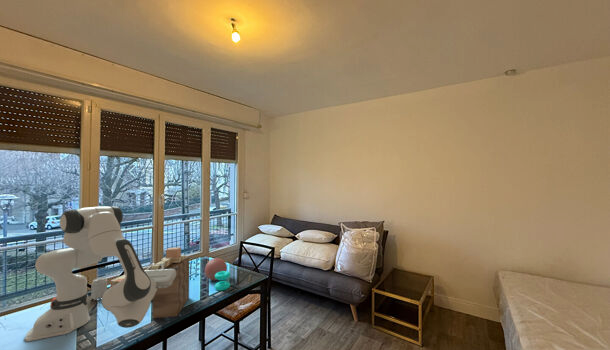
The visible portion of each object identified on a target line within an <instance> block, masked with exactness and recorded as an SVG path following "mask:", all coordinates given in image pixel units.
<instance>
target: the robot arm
mask: <svg viewBox="0 0 610 350" xmlns="http://www.w3.org/2000/svg"><path fill="white" fill-rule="evenodd" d="M123 217H124V215H123V211H122V209H121V208H120V207H119V206H114V205H109V206H92V207H91V206H90V207H82V208H78V209H75V208H74V209H69V210H65V211H64V212H63V213H62V214H61V217H60V218H59V226H60V228H61V231H62V232H63V233H64V235H63V239H62V240H63V244H64V245H65V246H67V247H66V248H59V249H55V250H52V251H48V252H45V253H42V254H41V255H39V256H38V258H37V259H36V261H35V264H34V265H35V270H36V271H37V272H38V274H41V275H44V276H47V277H49V279H51V280H52V281H53V282H54V284H55V288H56V290H55V291H56V297H54V298H53V297H52V300H51V302H50V305H49V306H50V308H49V309H48V310H46V311H45V312H44V313H42V314H41V315H39V317H37V319H36V320H35V321H34V324H33V326H32V328H31V329H30V330H29V331H27V333H26V334H25V335H24V341H25V342H31V341H32V342H33V341H38V340H41V339H42V340H43V339H46V338H47V339H48V338H51V337H52V338H53V337H57V336H62V335H67V334H70V333H72V332H73V331H75V330H77V329H78V328H80V327H83V326H84V325H86V324H88V322H90V321H91V316H90V313H89V309H88V302H89V294H88V291H87V289H88V287H87V286H88V280H87V277H86V276H85V275H83V274H78V273H77V274H76V273H73V270H75V269H80V268H83V267H87V266H91V265H93V264H96V263H99V262H101V261H102V260H103V258H106V257H115V258H117V259H118V260H119V262H120V265H121V268H122V270H123V272H124V275H125V279H124V280H123V281H121V282H119V283H117V284H115V285H114V286H112V287H110V286H109V288H107V290H106V291H105V292H104V293H103V295H102V299H101V306H102V307H103V308H104V309H105V310H106V311H109V312H110V313H111V314H112V315H113V316H114V317H115V319H116V323H117V325H118V326H119V327H121V328H126V329H128V328H129V329H130V328H133V327H134V328H135V327H136V326H138V325H139V324H140V323H141V322H142V321H143V320H144V319H145V317H146V315H147V313H148V311H149V309H150V307H151V306H150V305H151V303H152V301H153V298H154V295H155V293H156V291H157V289H158V288H167V287H169V286H171V285H172V283H173V280H174V279H175V277H176V270H175V269H164V266H165V264H164V263H161V264H160V268H161V269H160V270H151V267H152V266H153V265H155V264H156V263H151V264H150V265H149V266H148V267H147V268H146V269H145V270H144V266H142V262H141V261H140V259H139V256H138V255H137V252H136V250H135V248H134V246H133V244H132V242H130V240H128V239H126V238H125V237H124V235H123V232H122V229H121V224H122V222H123V219H124V218H123Z"/></svg>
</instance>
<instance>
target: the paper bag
mask: <svg viewBox="0 0 610 350" xmlns="http://www.w3.org/2000/svg"><path fill="white" fill-rule="evenodd" d="M164 269H175V270H176V277H175V279H174V280H173V283H172V285H171V286H169V287H167V288H158V289H157V291H156V293H155V295H154V298H153V299H152V318H153V319H156V318H169V317H178V315H179V313H180V312H181V311H182V310H183V308H184V306H185V305H186V303H187V302H188V301H189V298H190V255H185V259H184V260H182V261H181V262H178V263H172V264H170V265H168V266H167V267H165V268H164Z"/></svg>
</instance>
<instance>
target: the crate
mask: <svg viewBox="0 0 610 350" xmlns="http://www.w3.org/2000/svg"><path fill="white" fill-rule="evenodd" d="M181 255H182V247H181V246H179V247H168V248H167V249H166V250H165V257H166V258H169V257H173V258H178V257H180V256H181Z"/></svg>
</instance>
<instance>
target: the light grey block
mask: <svg viewBox="0 0 610 350" xmlns="http://www.w3.org/2000/svg"><path fill="white" fill-rule="evenodd" d="M90 288H91V289H90V291H91V293H90V294H91V297H92V298H93V299H101V298H102V295H103V293H104V292H105V291H106V290H107V289H108V279H107V277H105V276H102V277H97V278H94V279H93V280H92V282H91V287H90ZM91 297H90V298H91Z"/></svg>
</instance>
